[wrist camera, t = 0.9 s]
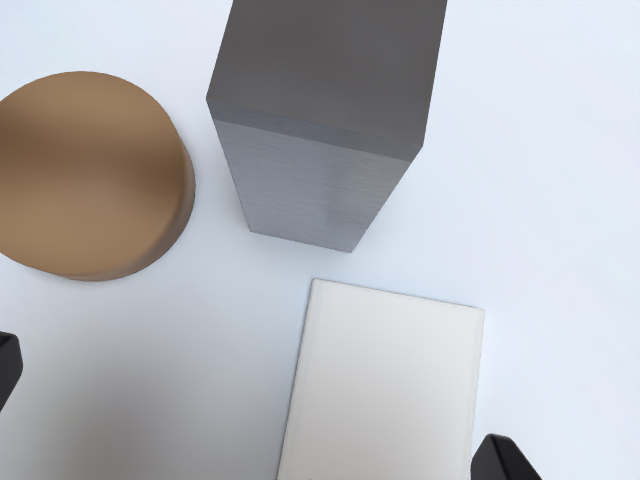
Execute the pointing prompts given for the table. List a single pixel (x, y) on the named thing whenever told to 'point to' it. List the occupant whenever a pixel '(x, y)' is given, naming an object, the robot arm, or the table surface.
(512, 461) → the robot arm
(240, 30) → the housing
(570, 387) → the table surface
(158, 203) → the stand
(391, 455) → the external hard drive
